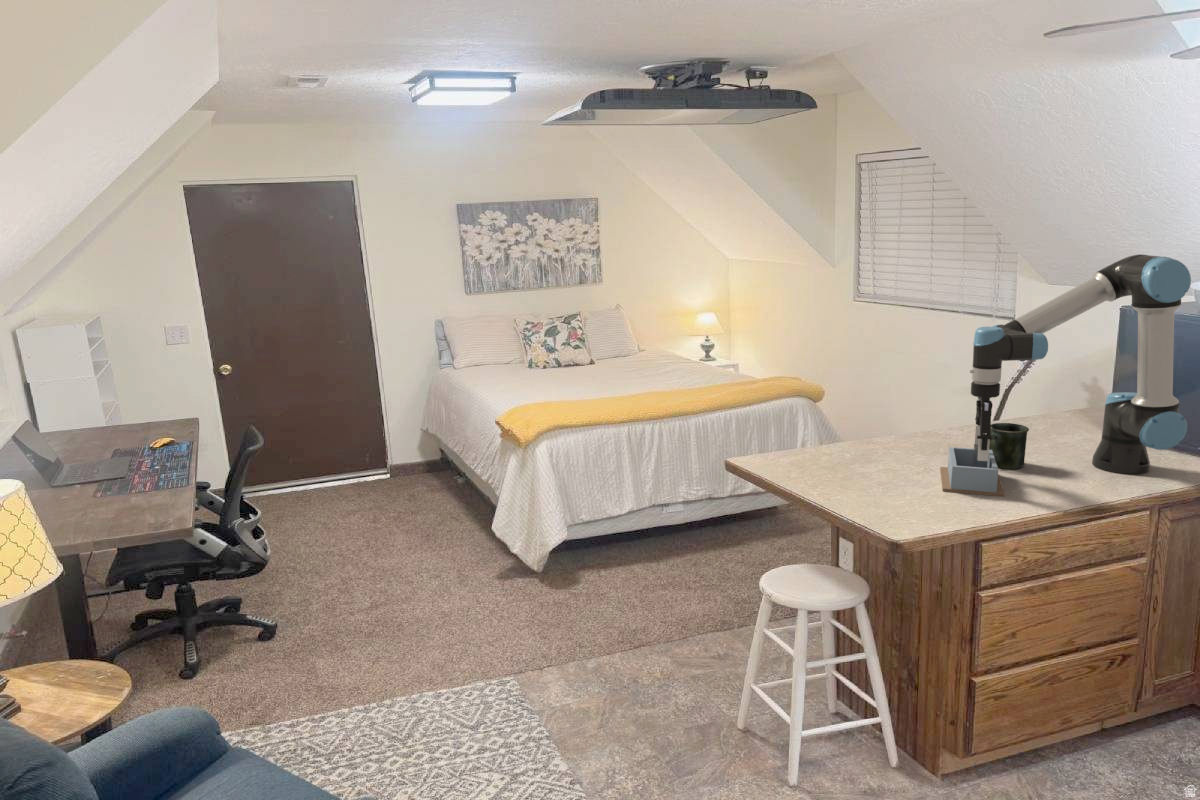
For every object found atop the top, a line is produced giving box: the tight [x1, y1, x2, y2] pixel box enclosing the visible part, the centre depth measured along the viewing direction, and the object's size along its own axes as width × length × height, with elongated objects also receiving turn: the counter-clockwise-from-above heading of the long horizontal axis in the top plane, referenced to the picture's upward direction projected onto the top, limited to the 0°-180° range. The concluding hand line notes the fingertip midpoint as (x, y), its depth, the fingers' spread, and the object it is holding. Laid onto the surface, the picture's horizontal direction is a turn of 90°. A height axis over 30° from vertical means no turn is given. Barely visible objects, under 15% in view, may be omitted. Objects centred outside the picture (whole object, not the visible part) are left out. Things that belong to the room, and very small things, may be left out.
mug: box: [989, 422, 1030, 470], centre depth 274 cm, size 11×15×12 cm
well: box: [939, 446, 1005, 497], centre depth 259 cm, size 16×21×7 cm
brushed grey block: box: [972, 444, 986, 468], centre depth 259 cm, size 6×5×10 cm
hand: (981, 453), depth 258 cm, fingers open, 13 cm apart
